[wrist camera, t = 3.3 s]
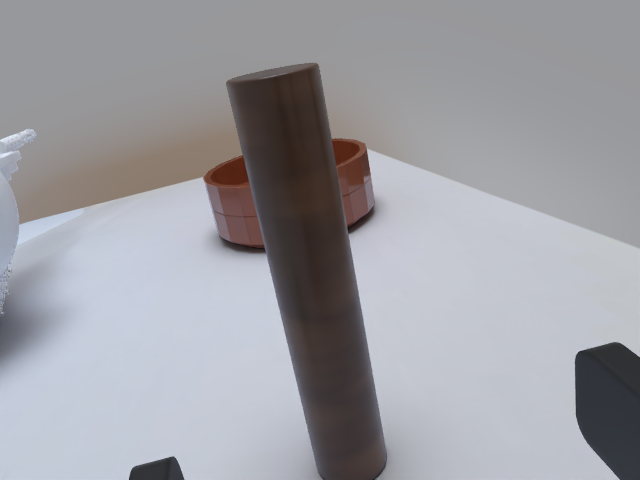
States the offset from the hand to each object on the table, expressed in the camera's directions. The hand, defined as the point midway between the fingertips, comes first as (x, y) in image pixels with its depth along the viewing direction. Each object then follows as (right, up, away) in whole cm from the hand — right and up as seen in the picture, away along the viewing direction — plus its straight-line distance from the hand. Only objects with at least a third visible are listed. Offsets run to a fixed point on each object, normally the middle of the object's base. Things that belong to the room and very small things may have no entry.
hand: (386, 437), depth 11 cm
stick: (0, -5, +13) cm, 14 cm away
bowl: (-3, +6, +43) cm, 43 cm away
